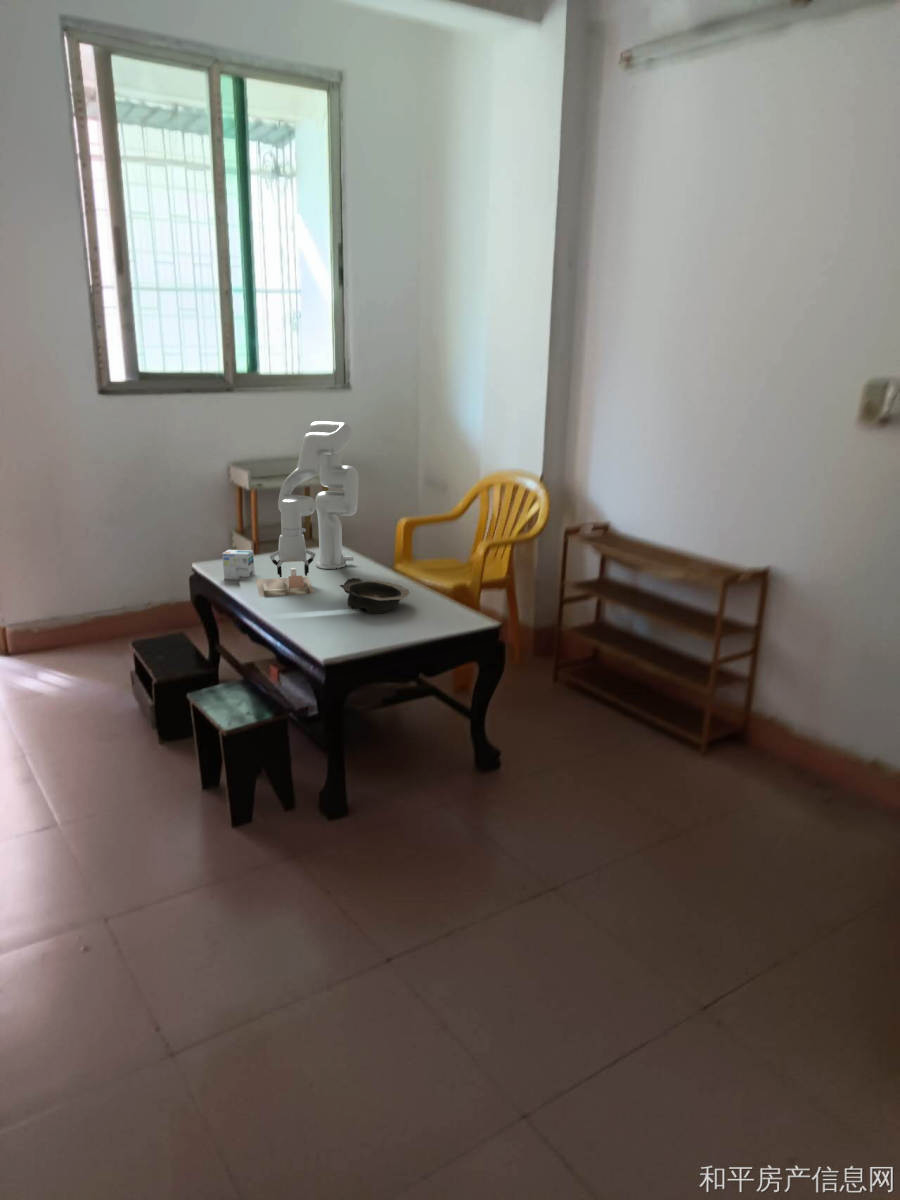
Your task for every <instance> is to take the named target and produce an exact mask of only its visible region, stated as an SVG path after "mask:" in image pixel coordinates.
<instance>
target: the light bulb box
mask: <svg viewBox="0 0 900 1200" xmlns="http://www.w3.org/2000/svg"><path fill="white" fill-rule="evenodd" d="M254 557H255V556H254V549H253V550H249V549H244V550H243V549H227V550H226V551H224V552H222V566H223V578H224V580H238V579H240V577H251V576H254V575H256V572H255V560H254Z"/></svg>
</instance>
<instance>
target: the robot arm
mask: <svg viewBox="0 0 900 1200" xmlns="http://www.w3.org/2000/svg"><path fill="white" fill-rule="evenodd" d="M308 430H309V432H308V433H305V434H304V437H303V439H302V444H301V448H300V451H299V456H298V457H299V458H298V462H297V465H296V468H295V469H294V470H293V471H292V472H291V473H290V474H289V475H288V476H287V477H286V478H285V480H284V481H283V482H282V484H281V487H280V491H279V495H278V501H277V505H278V506H277V507H278V510H279V512H280V522H281V530H280V531H281V534H280V535H279V538H278V550H276V551H274V552H272V553H271V554H269V556H268V557H269V559H270V561H271V562H272V563H273V564H274V565H275V566H276V567H277V568H276V569H277V570H276V571H277V575H279V578H283V577H282V576H283V575H282V571H283V570H282V566H281V565H282V564H284V563H292V562H293V563H296V562H303V563H304V567H303V570H304V577H308V574H310V571H309V570H310V567H309V566H310V564H311V563H313V561H314V559H315V557H316V553H315V552H314V551H311V550H308V549H307V547H306V542H305V540H306V539H305V536H304V535H305V534H303V533H306V532H307V531H306V528H304V527H303V526H302V525H303V524H302V517H308V516H312V514H314V513H315V511H316V514H317V523H318V549H319V550H318V551H319V552H318V553H319V560H317V561H316V562H315V566H316V567H317V568H319V569H324V570H335V569H336V568H337V569H341V567H342V568H344V567H346V566H347V561H348V562H352V561H354V556H352V555H351V556H350V555H344V554H343V540H342V539H343V537H342V536H343V532H342V530H343V529H342V523H341V520H340V518H339V517H338V516H345V517H348V516H349V517H350V516H353V515H355V514H356V513H357V510H358V504H359V502H358V500H359V473H358V470H357V469H356V467H354V466H352V465H344V464H342V452H341V451H342V450H343V449H344V448H345V447H346V446H347V445H348V444H349V443H350V441H351V439H352V436H353V430H352V427H351V425H350V424H348V423H347V422H343V421H340V422H339V421H328V420H326V421H325V420H318V421H313V422H312V423H310V425H309V429H308ZM318 475H319V482H320V485H321V486H322V487H325V488H331V489H343V491H334V490H323V491H320V492H318V493H317V495H316V496H315V498H313V497H312V496H308V495H297V494H292V493H293V491H294V489H295V488H296V487H297V486H298V485H300V484H301V483H303V482H306V481H307V480H310V479H312V478H314V477H317V476H318ZM307 555H309V556H310V557H309V558H308V559H307ZM276 556H278V560H276V559H275V557H276ZM345 565H346V566H345ZM337 569H336V570H337Z"/></svg>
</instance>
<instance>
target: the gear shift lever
mask: <svg viewBox="0 0 900 1200" xmlns="http://www.w3.org/2000/svg"><path fill="white" fill-rule="evenodd" d="M303 577H304V576H303V575H297V568H296V567H291V568H290V575H289V576H288V578H289V588H302V587H304V581H303Z"/></svg>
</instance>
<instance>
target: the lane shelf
mask: <svg viewBox="0 0 900 1200" xmlns="http://www.w3.org/2000/svg"><path fill="white" fill-rule="evenodd" d="M302 577H303V581H304V587H302V588H289V577H284V578H283V577H278V578H265V579H264V578H262V579H255V581H256V585H257V590H258V596H259V597H273V596H274V597H275V596H289V595H303V594H304V595H305V594H306V595H307V594H314V593H315V590H314V588H313V585H312V583H311V582H310V579H309V577H308V576H302Z"/></svg>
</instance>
